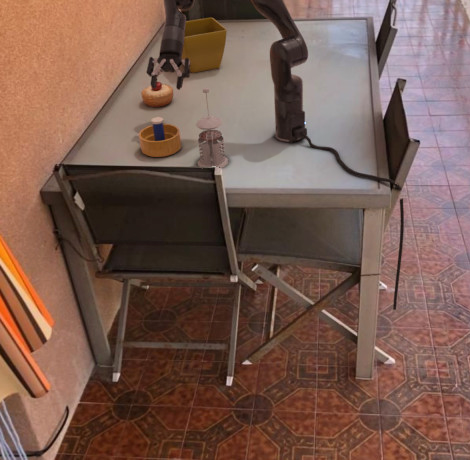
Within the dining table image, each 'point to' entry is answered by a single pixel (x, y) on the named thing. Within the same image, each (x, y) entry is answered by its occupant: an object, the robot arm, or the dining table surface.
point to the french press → (210, 141)
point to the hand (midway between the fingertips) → (165, 88)
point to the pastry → (157, 95)
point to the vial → (158, 129)
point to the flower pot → (204, 44)
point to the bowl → (160, 147)
